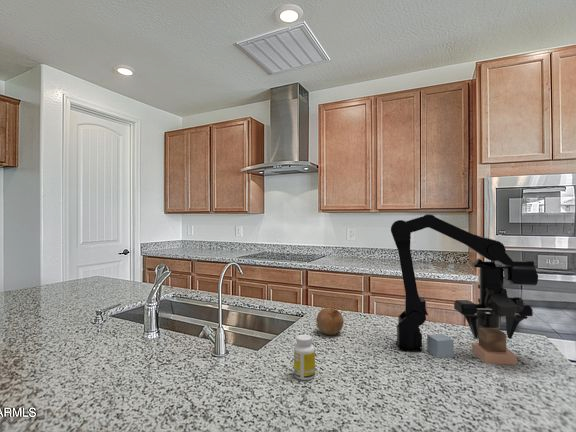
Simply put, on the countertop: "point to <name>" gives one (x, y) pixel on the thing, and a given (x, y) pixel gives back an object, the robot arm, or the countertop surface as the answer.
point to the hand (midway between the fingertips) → (492, 337)
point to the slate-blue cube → (440, 345)
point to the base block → (494, 355)
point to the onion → (329, 321)
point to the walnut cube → (492, 339)
